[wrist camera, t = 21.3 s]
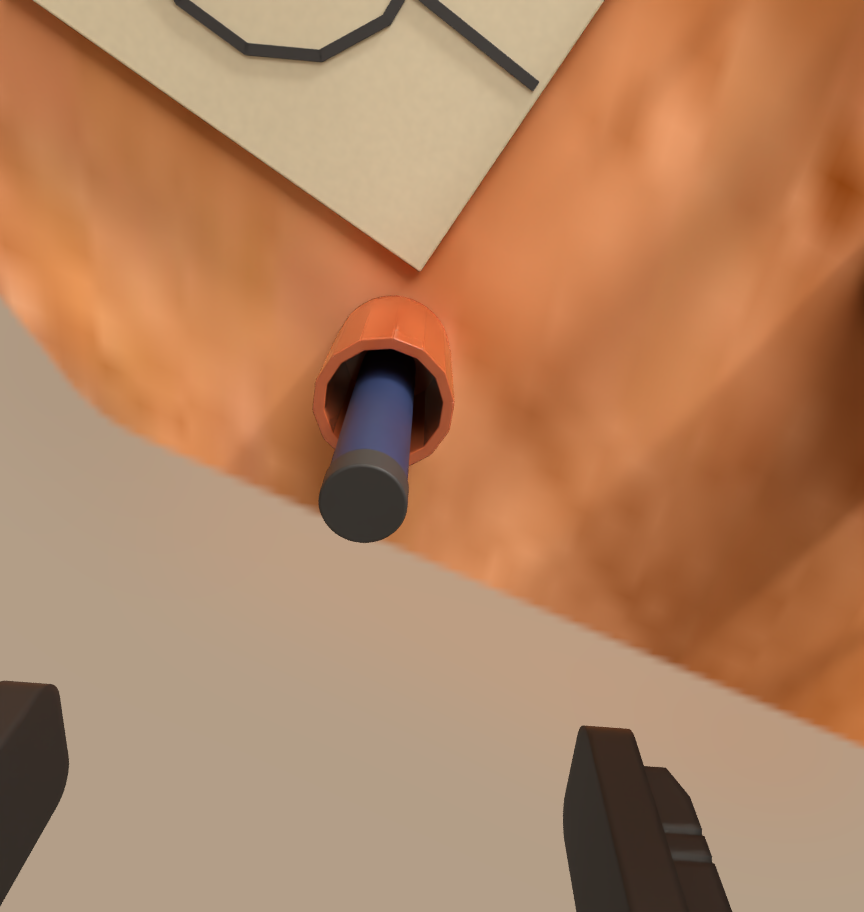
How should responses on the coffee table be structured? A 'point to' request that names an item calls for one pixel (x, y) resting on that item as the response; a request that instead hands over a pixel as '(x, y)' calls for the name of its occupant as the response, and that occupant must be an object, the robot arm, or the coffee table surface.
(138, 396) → the coffee table surface
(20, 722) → the robot arm
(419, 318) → the pen cup
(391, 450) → the marker
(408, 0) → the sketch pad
